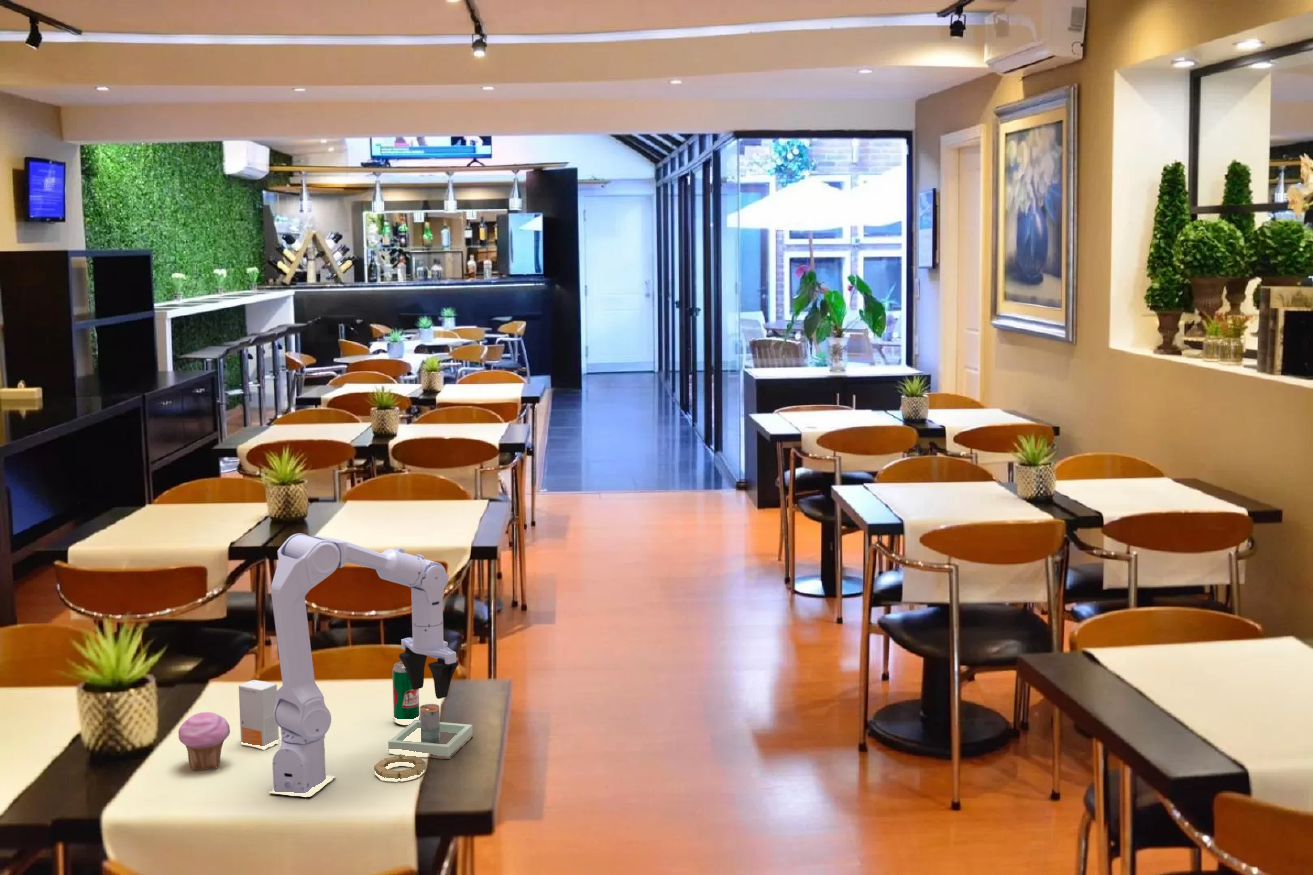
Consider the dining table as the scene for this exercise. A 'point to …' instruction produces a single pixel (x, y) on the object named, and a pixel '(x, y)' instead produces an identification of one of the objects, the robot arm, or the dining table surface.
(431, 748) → the mint green square frame
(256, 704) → the skincare box
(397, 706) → the soda can
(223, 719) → the cupcake
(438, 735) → the grey copper-topped cylinder
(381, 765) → the collar
